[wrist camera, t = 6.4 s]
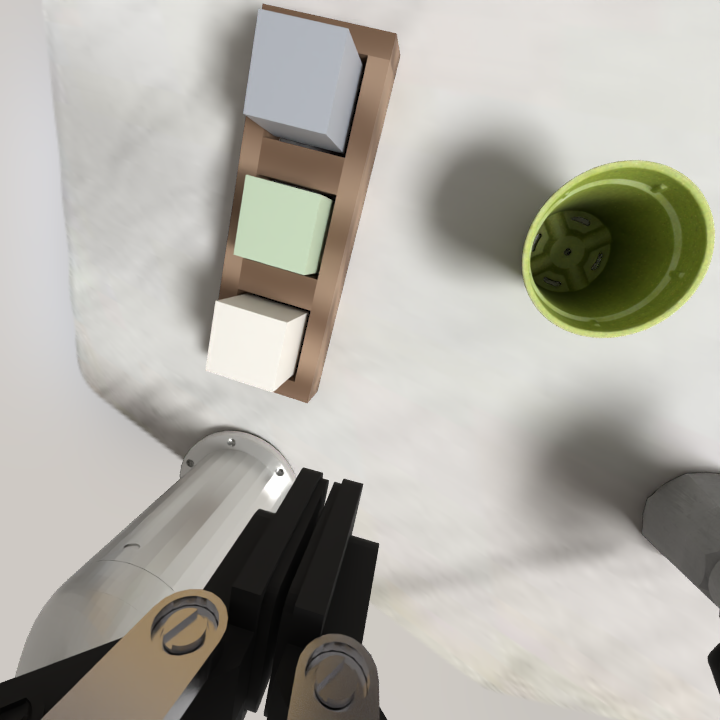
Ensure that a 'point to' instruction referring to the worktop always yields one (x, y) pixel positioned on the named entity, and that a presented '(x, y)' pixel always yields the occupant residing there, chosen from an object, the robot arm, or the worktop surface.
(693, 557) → the coffeepot
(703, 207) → the plant pot
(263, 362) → the white button
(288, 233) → the sage button
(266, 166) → the button housing
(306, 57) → the grey button
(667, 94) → the worktop surface
